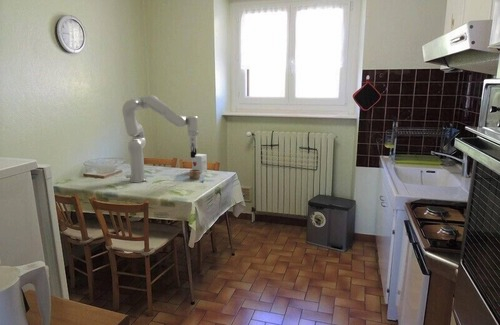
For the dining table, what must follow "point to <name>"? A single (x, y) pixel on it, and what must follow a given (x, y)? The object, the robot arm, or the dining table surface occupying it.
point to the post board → (187, 178)
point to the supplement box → (200, 162)
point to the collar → (194, 174)
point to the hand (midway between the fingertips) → (193, 156)
